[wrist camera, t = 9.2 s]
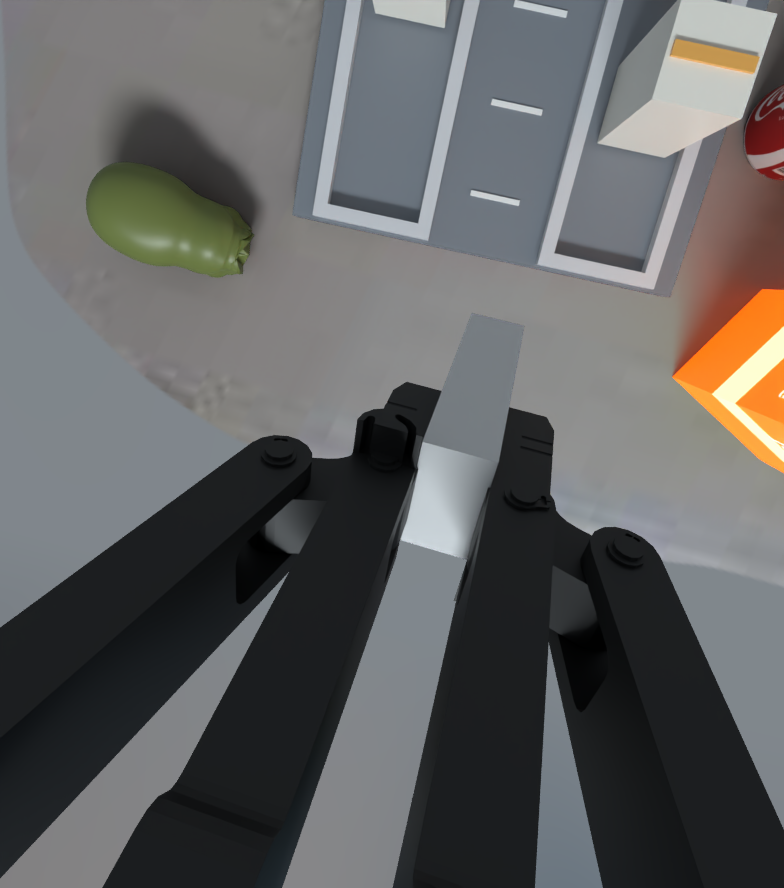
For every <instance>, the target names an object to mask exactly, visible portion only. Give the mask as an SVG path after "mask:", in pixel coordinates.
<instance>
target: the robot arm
mask: <svg viewBox="0 0 784 888" xmlns="http://www.w3.org/2000/svg"><path fill="white" fill-rule="evenodd" d="M523 331H524V325H519V324H515V323H511V322H507V321H503V320H499V319H495V318H491V317H487V316H483V315H479V314H475V313H472V314H471V316H470V319H469V322H468V324H467V327H466V330H465V332H464V335H463V337H462V340H461V343H460V345H459V348H458V350H457V353H456V356H455V358H454V361H453V363H452V366H451V369H450V371H449V374H448V376H447V379H446V382H445V384H444V387H443V389H442V391H439V390H435V389H432V388H428V387H424V386H420V385H416V384H413V383H409V382H406V383H404V384H402V385H401V386H399V387H397V388H396V389H394V390H393V392H392V394H391V396H390V398H389V400H388V402H387V403H386V405H385V407H384V409H373V410H371V411H368V412H365V413H363V414H362V415H361V416H360V417H359V418H358V420H357V427H356V435H355V442H354V449H353V453H352V455H351V456H348V457H344V458H339V459H323V458H312V452H311V451H310V449H309V447H308V446H307V445H306V444H304V443H303V442H301V441H300V440H298V439H295V438H292V437H289V436H278V435H273V436H268V437H262V438H260V439H258V440H256V441H254V442H252V443H251V444H249V445H248V446H247V447H245V448H244V449H243V450H241V451H240V452H239V453H237V454H236V455H234V456H233V457H232V458H230V459H229V460H228V461H226V462H225V463H224V464H222V465H221V466H219V467H218V468H217V469H215V470H214V471H213V472H211V473H210V474H209V475H207V476H206V477H205V478H203V479H202V480H201V481H199V482H198V483H196V484H195V485H194V486H192V487H191V488H190V489H188V490H187V491H186V492H184V493H183V494H181V495H180V496H179V497H177V498H176V499H175V500H173V501H172V502H171V503H169V504H168V505H166V506H165V507H164V508H162V509H161V510H160V511H158V512H157V513H156V514H154V515H153V516H152V517H150V518H149V519H147V520H146V521H145V522H143V523H142V524H141V525H139V526H138V527H136V528H135V529H134V530H132V531H131V532H130V533H128V534H127V535H126V536H124V537H123V538H122V539H120V540H119V541H118V542H116V543H115V544H113V545H112V546H111V547H109V548H108V549H107V550H105V551H104V552H102V553H101V554H100V555H98V556H97V557H96V558H94V559H93V560H92V561H90V562H89V563H88V564H86V565H85V566H83V567H82V568H81V569H79V570H78V571H77V572H75V573H74V574H73V575H71V576H70V577H68V578H67V579H66V580H64V581H63V582H62V583H60V584H59V585H58V586H56V587H55V588H53V589H52V590H51V591H50V592H48V593H47V594H45V595H44V596H43V597H41V598H40V599H39V600H38V601H36V602H34V603H33V604H32V605H30V606H29V607H28V608H26V609H25V610H24V611H22V612H21V613H19V614H18V615H17V616H15V617H14V618H13V619H11V620H10V621H9V622H7V623H6V624H4V625H3V626H2V627H0V878H1V877H2V876H3V875H4V874H5V873H6V872H7V871H8V869H9V868H10V867H11V866H12V865H13V864H14V863H15V862H16V861H17V860H18V859H19V858H20V857H21V856H22V855H23V854H24V852H25V851H26V850H27V849H28V848H29V847H30V846H31V845H32V844H33V843H34V842H35V841H36V840H37V839H38V838H39V837H40V836H41V834H42V833H43V832H44V831H45V830H46V829H47V828H48V827H49V826H50V825H51V824H52V823H53V822H54V821H55V819H57V817H58V816H59V815H60V814H61V813H62V812H63V811H64V810H65V809H66V808H67V807H68V806H69V805H70V804H71V803H72V801H73V800H74V799H75V798H76V797H77V796H78V795H79V794H80V793H81V792H82V791H83V790H84V789H85V788H86V787H87V786H88V785H89V783H90V782H91V781H92V780H93V779H94V778H95V777H96V776H97V775H98V774H99V773H100V772H101V771H102V770H103V768H104V767H106V765H107V764H108V763H109V762H110V761H111V760H112V759H113V758H114V757H115V756H116V755H117V754H118V753H119V752H120V751H121V749H122V748H123V747H124V746H125V745H126V744H127V743H128V742H129V741H130V740H131V739H132V738H133V737H134V736H135V735H136V734H137V733H138V731H139V730H140V729H141V728H142V727H143V726H144V725H145V724H146V723H147V722H148V721H149V720H150V719H151V718H152V717H153V715H154V714H155V713H156V712H157V711H158V710H159V709H160V708H161V707H162V706H163V705H164V704H165V703H166V702H167V701H168V700H169V698H171V696H172V695H173V694H174V693H175V692H176V691H177V690H178V689H179V688H180V687H181V686H182V685H183V684H184V683H185V682H186V681H187V679H188V678H189V677H190V676H191V675H192V674H193V673H194V672H195V671H196V670H197V669H198V668H199V667H200V666H201V665H202V664H203V662H204V661H205V660H206V659H207V658H208V657H209V656H210V655H211V654H212V653H213V652H214V651H215V650H216V649H217V648H218V647H219V645H220V644H221V643H222V642H223V641H224V640H225V639H226V638H227V637H228V636H229V635H230V634H231V633H232V632H233V631H234V630H235V628H236V627H237V626H238V625H239V624H240V623H241V622H242V621H243V620H244V619H245V618H246V617H247V616H248V615H249V614H250V613H251V611H252V610H253V609H254V608H255V607H256V606H257V605H258V604H259V603H260V602H261V601H262V600H263V599H264V598H265V597H266V596H267V594H268V593H269V592H270V591H271V590H272V589H273V588H274V587H275V586H276V585H277V584H278V583H279V582H280V581H281V580H282V578H284V576H285V575H286V574H287V573H288V572H289V573H288V575H287V577H286V579H285V581H284V583H283V585H282V586H281V588H280V590H279V592H278V594H277V596H276V598H275V600H274V601H273V603H272V605H271V607H270V609H269V611H268V613H267V615H266V616H265V618H264V620H263V622H262V624H261V626H260V628H259V630H258V631H257V633H256V635H255V637H254V639H253V641H252V643H251V645H250V646H249V648H248V650H247V652H246V654H245V656H244V658H243V660H242V661H241V664H240V665H239V667H238V669H237V671H236V673H235V675H234V676H233V678H232V681H231V682H230V684H229V686H228V688H227V690H226V692H225V693H224V695H223V697H222V699H221V701H220V703H219V705H218V706H217V708H216V710H215V712H214V714H213V716H212V718H211V720H210V722H209V723H208V725H207V727H206V729H205V731H204V733H203V735H202V737H201V739H200V741H199V742H198V744H197V746H196V748H195V750H194V752H193V753H192V755H191V757H190V759H189V761H188V763H187V765H186V767H185V768H184V770H183V772H182V774H181V775H180V777H179V779H178V780H177V782H176V783H175V785H174V786H173V787H172V788H171V790H169V791H167V792H165V793H164V794H162V795H160V796H158V797H157V799H156V800H155V801H154V802H153V803H152V804H151V806H150V807H149V808H148V809H147V811H146V812H145V814H144V816H143V817H142V819H141V820H140V822H139V823H138V825H137V827H136V828H135V830H134V832H133V834H132V836H131V837H130V839H129V841H128V843H127V844H126V846H125V848H124V850H123V852H122V853H121V855H120V857H119V859H118V861H117V862H116V864H115V866H114V868H113V870H112V871H111V873H110V875H109V877H108V879H107V880H106V882H105V884H104V886H103V888H282V886H283V883H284V881H285V877H286V875H287V872H288V869H289V866H290V863H291V860H292V857H293V854H294V852H295V848H296V846H297V843H298V840H299V837H300V834H301V831H302V828H303V826H304V823H305V820H306V817H307V814H308V811H309V808H310V805H311V802H312V799H313V797H314V794H315V791H316V788H317V785H318V782H319V779H320V776H321V773H322V770H323V768H324V765H325V762H326V759H327V756H328V753H329V750H330V747H331V744H332V742H333V739H334V735H335V733H336V730H337V727H338V724H339V721H340V718H341V715H342V713H343V710H344V707H345V704H346V701H347V698H348V695H349V692H350V689H351V686H352V684H353V681H354V678H355V675H356V672H357V669H358V666H359V663H360V660H361V657H362V655H363V652H364V649H365V646H366V643H367V640H368V637H369V634H370V631H371V629H372V626H373V622H374V620H375V617H376V614H377V611H378V608H379V605H380V603H381V600H382V597H383V594H384V591H385V587H386V585H387V582H388V579H389V576H390V574H391V571H392V568H393V565H394V562H395V559H396V555H397V551H398V546H399V541H400V539H401V540H402V541H406V542H409V543H412V544H416V545H419V546H422V547H426V548H429V549H432V550H436V551H440V552H443V553H446V554H449V555H453V556H456V557H459V558H463V559H467V562H466V565H465V568H464V571H463V574H462V577H461V580H460V583H459V586H458V589H457V593H456V596H455V599H454V601H456V604H455V609H454V613H453V618H452V623H451V627H450V631H449V636H448V640H447V645H446V650H445V654H444V658H443V663H442V667H441V672H440V676H439V682H438V686H437V690H436V695H435V699H434V704H433V708H432V713H431V717H430V722H429V726H428V731H427V735H426V740H425V744H424V749H423V753H422V758H421V762H420V767H419V771H418V776H417V781H416V785H415V790H414V794H413V798H412V803H411V807H410V812H409V816H408V821H407V826H406V830H405V835H404V839H403V843H402V848H401V853H400V857H399V861H398V866H397V871H396V875H395V880H394V884H393V888H535V874H536V856H537V838H538V820H539V803H540V785H541V767H542V749H543V731H544V713H545V695H546V677H547V659H548V642H549V645H550V649H551V654H552V658H553V662H554V667H555V672H556V677H557V681H558V685H559V690H560V695H561V699H562V703H563V708H564V713H565V717H566V722H567V727H568V731H569V735H570V740H571V745H572V749H573V754H574V758H575V763H576V767H577V772H578V776H579V781H580V786H581V790H582V794H583V799H584V803H585V808H586V812H587V817H588V822H589V826H590V831H591V835H592V840H593V844H594V849H595V854H596V858H597V863H598V867H599V872H600V876H601V881H602V885H603V888H784V829H783V827H782V825H781V823H780V820H779V818H778V816H777V814H776V812H775V809H774V807H773V805H772V803H771V801H770V798H769V796H768V794H767V792H766V789H765V787H764V785H763V783H762V781H761V778H760V776H759V774H758V772H757V770H756V768H755V765H754V763H753V761H752V758H751V756H750V754H749V752H748V750H747V747H746V745H745V743H744V741H743V739H742V736H741V734H740V732H739V730H738V728H737V725H736V723H735V721H734V719H733V717H732V714H731V712H730V710H729V708H728V705H727V703H726V701H725V699H724V697H723V694H722V692H721V690H720V688H719V686H718V684H717V681H716V679H715V677H714V675H713V672H712V670H711V668H710V666H709V664H708V661H707V659H706V657H705V655H704V653H703V650H702V648H701V646H700V644H699V642H698V640H697V637H696V635H695V633H694V631H693V628H692V626H691V624H690V622H689V620H688V617H687V615H686V613H685V611H684V608H683V606H682V604H681V602H680V600H679V597H678V595H677V593H676V591H675V589H674V586H673V584H672V582H671V580H670V577H669V575H668V573H667V571H666V569H665V566H664V564H663V562H662V560H661V558H660V556H659V554H658V553H657V552H656V550H655V549H654V547H653V546H652V545H651V544H650V543H648V542H647V541H646V540H645V539H644V538H642V537H641V536H639V535H637V534H635V533H633V532H631V531H629V530H625V529H621V528H617V527H603V528H601V529H599V530H597V531H595V532H594V533H593V535H592V536H591V535H590V534H588V533H586V532H584V531H582V530H580V529H578V528H576V527H575V526H573V525H572V524H570V523H568V522H567V521H566V520H565V519H563V518H562V517H561V516H560V515H559V514H558V512H557V511H556V507H555V502H554V499H553V498H552V497H551V495H550V486H551V471H552V455H553V440H554V430H553V428H552V426H551V424H550V423H549V421H548V419H547V417H544V416H540V415H536V414H532V413H529V412H525V411H521V410H517V409H513V408H510V407H509V405H510V399H511V394H512V389H513V384H514V378H515V373H516V368H517V363H518V357H519V352H520V347H521V341H522V336H523Z"/></svg>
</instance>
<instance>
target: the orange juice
mask: <svg viewBox="0 0 784 888" xmlns="http://www.w3.org/2000/svg"><path fill="white" fill-rule="evenodd" d="M673 378H674V379H675V380H676V381H677V382H678V383H679V384H680V385H681V386H682V387H683V388H685V389H686V390H687V391H688V392H689V393H690V394H691V395H692V396H693V397H694V398H695V399H696V400H697V401H698V402H699V403H700V404H702V405H703V406H704V407H705V408H706V409H707V410H708V411H709V412H710V413H711V414H712V415H713V416H714V417H715V418H716V419H717V420H719V421H720V422H721V423H722V424H723V425H724V426H725V427H726V428H727V429H728V430H729V431H730V432H731V433H732V434H733V435H734V436H736V437H737V438H738V439H739V440H740V441H741V442H742V443H743V444H744V445H745V446H746V447H747V448H748V449H749V450H750V451H751V452H753V453H754V454H755V455H756V456H757V457H758V458H759V459H760V460H762V461H763V462H765V463H767V464H769V465H771V466H772V467H774V468H776V469H778V470H779V471H781V472H783V473H784V290H770V289H762V290H761V291H760V292H759V293H758V294H757V295H756V296H755V297H754V298H753V299H752V300H751V301H750V302H749V303H748V304H747V305H746V306H745V307H744V308H743V309H742V310H740V311H739V312H738V313H737V314H736V315H735V316H734V317H733V318H732V319H731V320H730V321H729V322H728V323H727V324H726V325H725V326H724V327H723V328H722V329H721V330H720V331H719V332H718V333H717V334H716V335H715V336H714V337H713V338H712V339H711V340H710V341H709V342H708V343H707V344H706V345H705V346H703V347H702V348H701V349H700V350H699V351H698V352H697V353H696V354H695V355H694V356H693V357H692V358H691V359H690V360H689V361H688V362H687V363H686V364H685V365H684V366H683V367H682V368H681V369H680V370H679V371H678V372H677V373H676V374H675V375H674V376H673Z"/></svg>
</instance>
